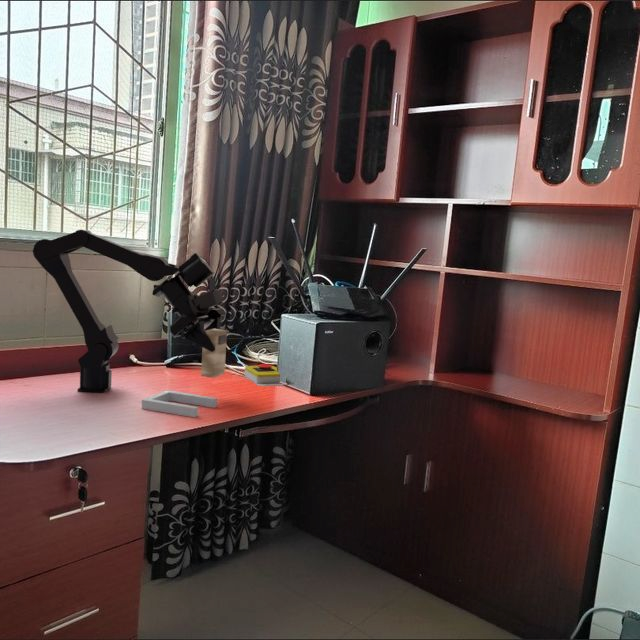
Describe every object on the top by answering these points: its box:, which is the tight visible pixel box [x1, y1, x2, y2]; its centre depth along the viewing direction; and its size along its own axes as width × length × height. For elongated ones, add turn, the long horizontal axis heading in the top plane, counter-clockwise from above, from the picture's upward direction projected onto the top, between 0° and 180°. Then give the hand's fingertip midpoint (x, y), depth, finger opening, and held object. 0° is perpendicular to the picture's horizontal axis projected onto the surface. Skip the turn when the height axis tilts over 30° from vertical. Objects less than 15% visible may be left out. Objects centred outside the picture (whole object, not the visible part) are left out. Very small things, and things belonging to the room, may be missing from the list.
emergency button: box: [243, 363, 285, 387], centre depth 176 cm, size 9×4×15 cm
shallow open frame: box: [141, 390, 218, 418], centre depth 142 cm, size 14×10×2 cm
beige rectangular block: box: [200, 329, 228, 379], centre depth 150 cm, size 4×6×11 cm
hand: (219, 348), depth 149 cm, fingers closed on beige rectangular block, 5 cm apart
